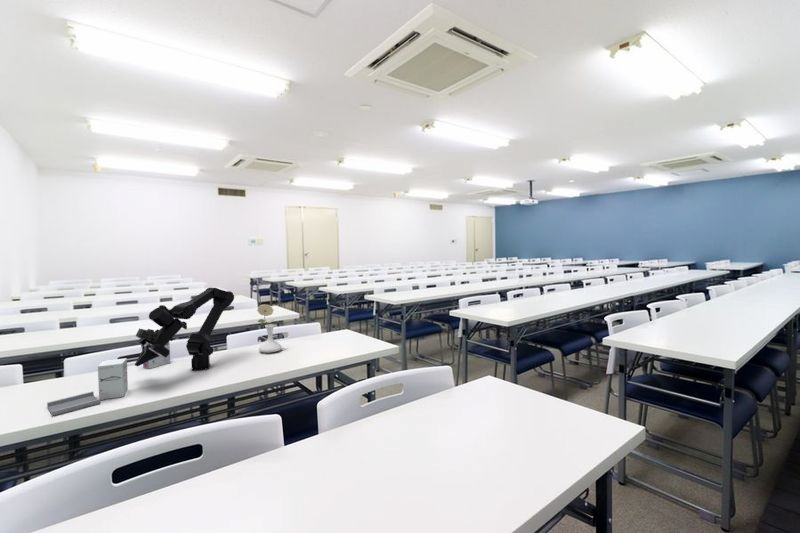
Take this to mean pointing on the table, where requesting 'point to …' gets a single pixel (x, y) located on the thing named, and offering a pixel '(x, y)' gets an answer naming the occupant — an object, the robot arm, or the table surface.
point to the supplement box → (112, 378)
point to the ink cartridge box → (158, 359)
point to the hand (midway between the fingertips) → (135, 365)
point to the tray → (72, 403)
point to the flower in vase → (270, 343)
